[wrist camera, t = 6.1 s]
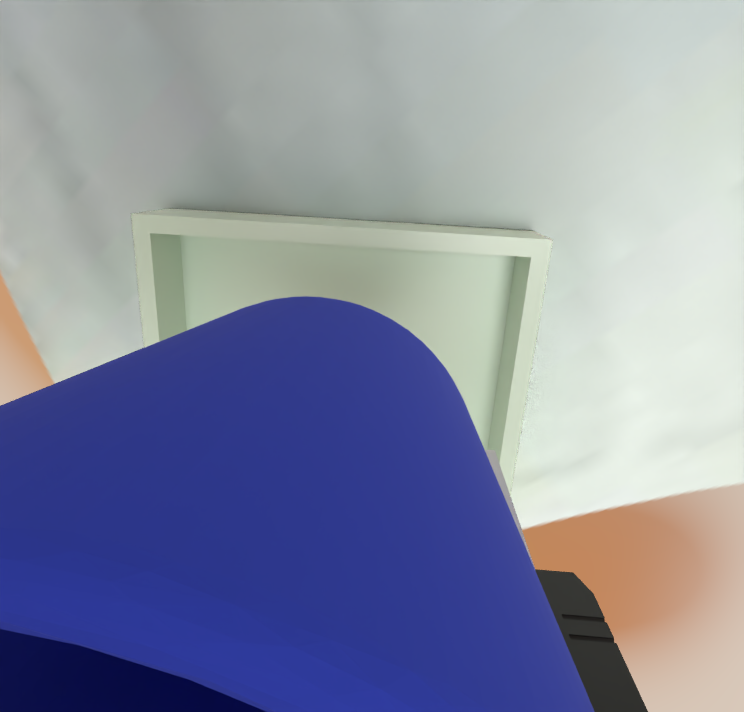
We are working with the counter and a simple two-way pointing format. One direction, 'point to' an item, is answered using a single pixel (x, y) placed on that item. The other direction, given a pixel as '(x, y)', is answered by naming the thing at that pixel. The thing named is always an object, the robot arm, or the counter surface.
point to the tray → (364, 290)
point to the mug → (267, 532)
